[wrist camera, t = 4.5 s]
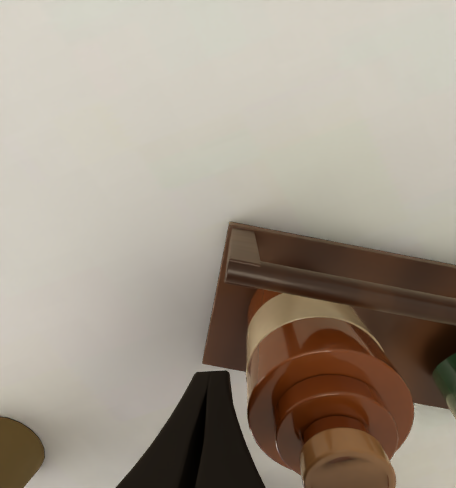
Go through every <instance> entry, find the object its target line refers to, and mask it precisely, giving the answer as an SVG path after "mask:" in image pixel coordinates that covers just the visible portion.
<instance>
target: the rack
mask: <svg viewBox="0 0 456 488" xmlns="http://www.w3.org/2000/svg"><path fill="white" fill-rule="evenodd" d="M258 289H264V290H270V291H275V292H280V293H285V294H291V295H296V296H301V297H307V298H312V299H317V300H322V301H328V302H333V303H338V304H343V305H349V306H352V307H353V308H354V310H355V311H356V312H357V313H358V315H359V316H360V317H361V319H362V320H363V322H364V323H365V324H366V326H367V327H368V329H369V330H370V331H371V333H372V334H373V335H374V337H375V338H376V340H377V341H378V342H379V344H380V345H381V347H382V349H383V351H384V353H385V354H386V356H387V357H388V359H389V360H390V361H391V363H392V364H393V366H394V367H395V368H396V370H397V371H398V373H399V374H400V375H401V377H402V378H403V379H404V381H405V382H406V384H407V386H408V388H409V390H410V392H411V395H412V398H413V403H418V404H424V405H429V406H434V407H440V408H445V409H449V407H448V405H447V403H446V402H445V400H444V398H443V397H442V395H441V393H440V391H439V390H438V388H437V386H436V385H435V383H434V381H433V379H432V374H433V371H434V369H435V368H436V367H437V366H438V365H439V364H440V363H441V362H442V361H443V360H445V359H446V358H447V357H449V356H451V355H452V354H454V353H456V265H452V264H447V263H442V262H437V261H431V260H426V259H421V258H416V257H411V256H405V255H400V254H395V253H390V252H385V251H380V250H374V249H369V248H364V247H359V246H354V245H348V244H343V243H338V242H333V241H328V240H323V239H317V238H312V237H307V236H302V235H297V234H291V233H286V232H281V231H276V230H271V229H266V228H260V227H255V226H250V225H245V224H240V223H234V222H229V226H228V231H227V237H226V242H225V247H224V252H223V257H222V262H221V268H220V273H219V278H218V283H217V288H216V294H215V299H214V304H213V309H212V314H211V319H210V325H209V330H208V335H207V340H206V345H205V350H204V356H203V361H202V364H207V365H212V366H218V367H223V368H228V369H234V370H239V371H245V372H246V336H247V314H248V308H249V304H250V302H251V299H252V297H253V296H254V294H255V293H256V291H257V290H258Z"/></svg>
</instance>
